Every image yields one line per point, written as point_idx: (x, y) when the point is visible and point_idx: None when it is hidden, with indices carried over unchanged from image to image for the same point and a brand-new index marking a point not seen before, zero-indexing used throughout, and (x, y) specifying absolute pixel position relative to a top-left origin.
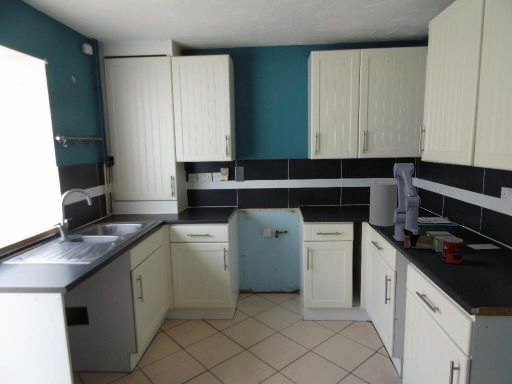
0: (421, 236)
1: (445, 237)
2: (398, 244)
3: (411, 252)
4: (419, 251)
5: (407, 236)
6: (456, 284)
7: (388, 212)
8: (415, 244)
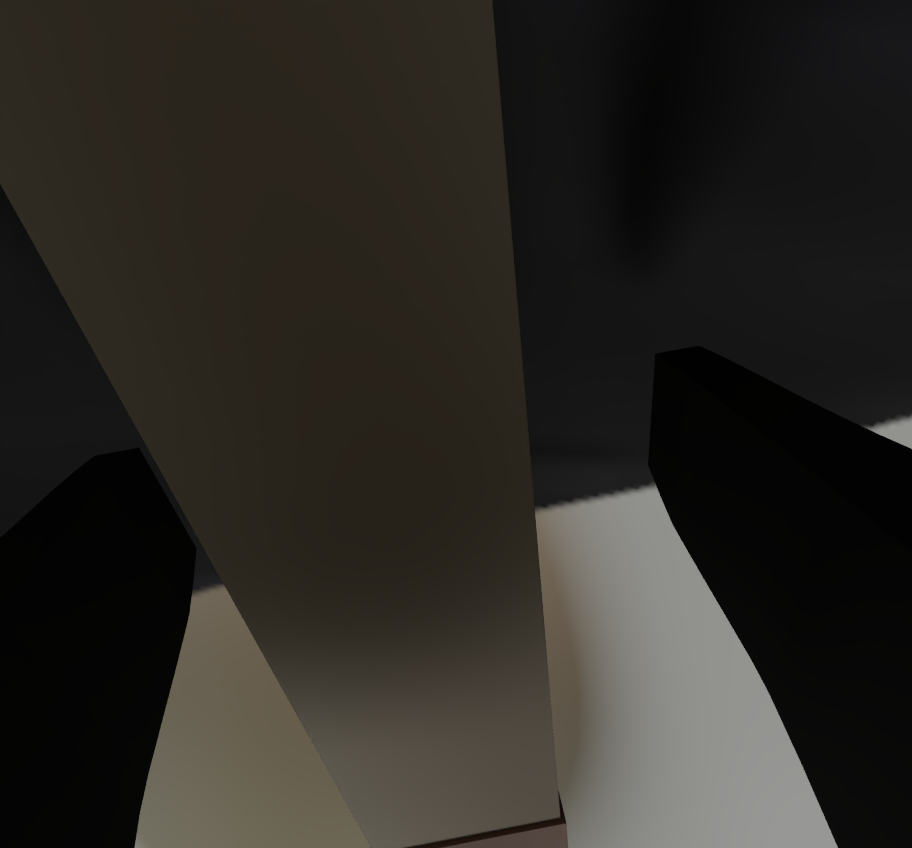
0: (201, 139)
1: None
2: None
3: (770, 377)
4: (696, 143)
5: (510, 839)
6: None
7: None
8: (757, 393)
